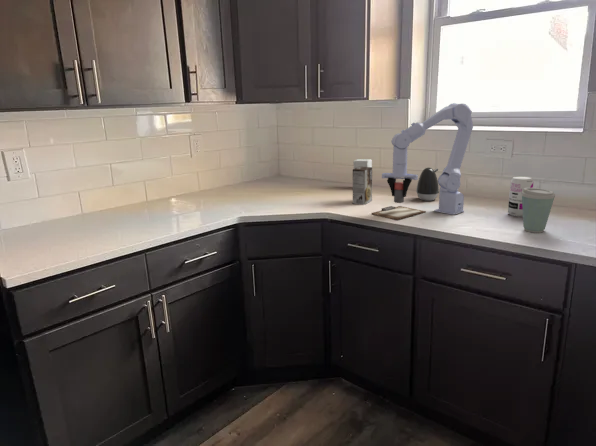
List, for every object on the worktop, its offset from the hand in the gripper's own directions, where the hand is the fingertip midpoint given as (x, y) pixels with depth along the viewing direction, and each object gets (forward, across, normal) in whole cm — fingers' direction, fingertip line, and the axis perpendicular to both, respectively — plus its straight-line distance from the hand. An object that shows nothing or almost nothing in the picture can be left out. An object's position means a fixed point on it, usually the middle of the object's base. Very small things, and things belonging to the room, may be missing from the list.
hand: (399, 196), depth 195 cm
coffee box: (+8, +22, -16) cm, 28 cm away
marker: (+2, 0, 0) cm, 2 cm away
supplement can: (+8, -45, -14) cm, 48 cm away
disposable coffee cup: (+8, -51, +8) cm, 53 cm away
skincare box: (+8, +32, -47) cm, 57 cm away
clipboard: (+7, 0, 0) cm, 7 cm away
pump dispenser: (+8, -5, -31) cm, 32 cm away
